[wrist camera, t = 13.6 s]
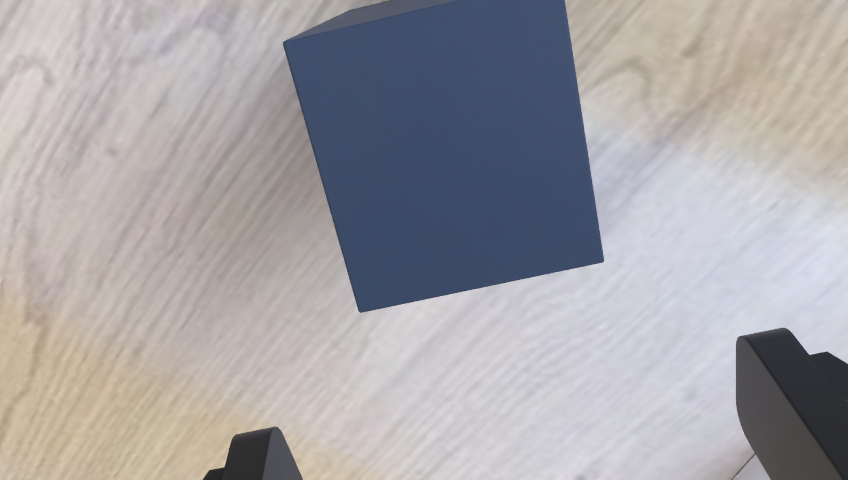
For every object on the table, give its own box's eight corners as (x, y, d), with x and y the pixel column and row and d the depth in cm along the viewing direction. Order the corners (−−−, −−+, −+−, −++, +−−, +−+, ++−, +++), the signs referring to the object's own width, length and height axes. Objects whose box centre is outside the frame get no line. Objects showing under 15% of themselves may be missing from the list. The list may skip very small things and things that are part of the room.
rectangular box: (282, 42, 14) (360, 318, 16) (561, -25, 14) (605, 267, 16) (348, 10, 27) (387, 164, 29) (492, -24, 27) (521, 134, 29)
